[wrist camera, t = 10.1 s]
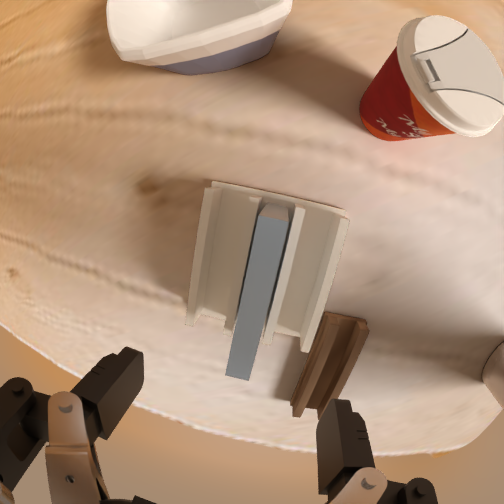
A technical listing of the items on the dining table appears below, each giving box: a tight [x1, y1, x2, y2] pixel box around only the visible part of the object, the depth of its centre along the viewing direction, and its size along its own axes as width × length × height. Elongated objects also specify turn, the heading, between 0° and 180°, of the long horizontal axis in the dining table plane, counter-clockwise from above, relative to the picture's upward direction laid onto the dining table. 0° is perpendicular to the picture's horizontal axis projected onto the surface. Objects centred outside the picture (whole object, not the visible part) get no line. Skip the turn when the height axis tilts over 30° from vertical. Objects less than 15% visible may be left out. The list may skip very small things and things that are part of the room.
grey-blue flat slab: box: [225, 202, 289, 381], centre depth 23 cm, size 2×12×10 cm, turn 168°
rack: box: [185, 181, 350, 353], centre depth 26 cm, size 13×14×5 cm
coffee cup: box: [359, 15, 504, 141], centre depth 16 cm, size 8×8×15 cm
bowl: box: [106, 0, 293, 75], centre depth 18 cm, size 15×15×11 cm
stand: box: [290, 312, 369, 420], centre depth 30 cm, size 5×14×3 cm, turn 168°
